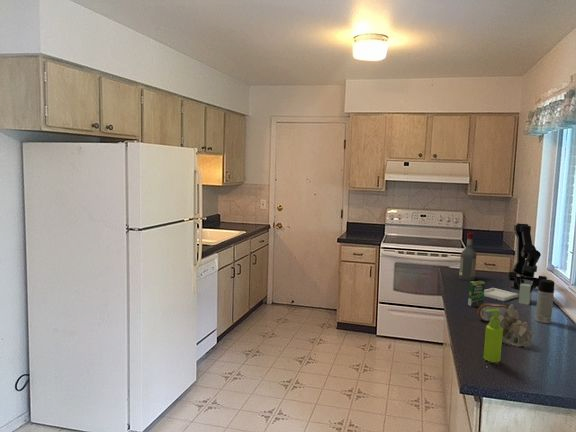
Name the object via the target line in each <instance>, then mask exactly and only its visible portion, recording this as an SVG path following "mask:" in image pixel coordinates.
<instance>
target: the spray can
mask: <svg viewBox="0 0 576 432" xmlns="http://www.w3.org/2000/svg"><path fill="white" fill-rule="evenodd" d="M554 293H555V281H554V280H552V279H548V278H547V279H540V282H539V286H538V289H537V299H536V308H535V316H534V317H535V318H534V319H535V322H538V323H541V324H550V323H551V321H552V316H553V315H552V312H553V305H554V296H555V295H554Z"/></svg>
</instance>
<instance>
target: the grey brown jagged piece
mask: <svg viewBox="0 0 576 432" xmlns="http://www.w3.org/2000/svg"><path fill="white" fill-rule="evenodd" d="M496 309H498V310H500V309H499V308H496ZM498 318H499V319H500V327H502V328H503V335H502V341H503V342H506V343H509V344H512V345H515V346H531V347H532V343H531V339H532V338H533V334H532V333H531V332H532V331H531V330H530V328H529V327H530V326H529V325H528V324H529V323H528V322H526V321H522V320H520V315H519V312H518V310H517V309H515V306H514V304H513V303H510V305H509V306H508V310H506V312H505V314H504V317H503V316H501V313H500V312H498ZM487 325H490V321H488V323H487Z"/></svg>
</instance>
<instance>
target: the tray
mask: <svg viewBox="0 0 576 432" xmlns="http://www.w3.org/2000/svg"><path fill="white" fill-rule="evenodd" d="M485 297H486V298H489V299H493V300H496V299H497V301H500V302H507V301H510V300H514V299H517V298H518V299H519V293H517V292H511V291H507V290H504V289H500V288H495V287H490V288H487V289H484V298H485Z"/></svg>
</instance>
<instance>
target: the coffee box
mask: <svg viewBox="0 0 576 432" xmlns="http://www.w3.org/2000/svg"><path fill="white" fill-rule="evenodd" d="M468 282H469V283H468V295H467V296H468V297H467V299H468V300H467V306H469V307H470V308H472V307H473V308H475V307H479V306H480V305H482V304H484V301H485V300H484V299H485V296H484V290H485V287H486V286H485V285H486V281H484V280H476V281H475V280H473V281H468Z"/></svg>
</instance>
